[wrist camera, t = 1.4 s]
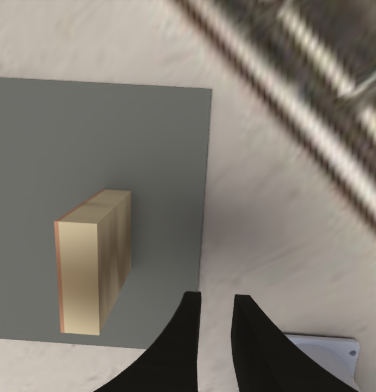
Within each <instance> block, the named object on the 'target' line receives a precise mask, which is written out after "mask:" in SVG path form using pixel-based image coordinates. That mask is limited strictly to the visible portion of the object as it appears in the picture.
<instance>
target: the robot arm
mask: <svg viewBox="0 0 376 392" xmlns="http://www.w3.org/2000/svg"><path fill="white" fill-rule="evenodd" d="M200 313H201V292H194V291H186V292H185V293H184V294H183V297H182V300H181V302H180V304H179V306H178V308H177V310H176V312H175V313H174V315H173V317H172V318H171V320H170V321H169V323H168V324H167V325H166V327H165V328H164V330H163V331H162V332H161V334H160V335H159V336H158V337H157V339H156V340H155V341H154V342H153V343H152V344H151V346H150V347H149V348H148V349H147V350H146V351H145V352H144V353H143V354H142V355H141V356H140V357H139V358H138V359H137V360H136V361H135V362H133V363H132V364H131V365H130V366H129V367H127V368H126V369H125V370H124V371H122V372H121V373H120V374H119V375H117V376H116V377H115V378H114V379H112V380H111V381H110V382H108V383H106V384H105V385H103V386H102V387H100V388H98V389H97V390H95V391H94V392H198V383H197V354H198V340H199V327H200ZM231 346H232V356H233V363H234V368H235V373H236V378H237V382H238V387H239V392H361V390H360V388H359V387H358V385H357V384H356V382H355V380H354V379H353V376H354V372H355V367H356V363H357V359H358V355H359V350H360V345H359V343H358V342H357V341H356V340H354V339H343V338H329V337H315V336H300V335H286V334H283V333H282V332H281V331H280V330H279V329H278V328H277V326H276V325H275V324H274V323H273V322H272V321H271V320H270V319H269V318H268V317H267V315H266V314H265V313H264V312H263V311H262V310H261V308H260V307H259V306H258V305H257V304H256V302H255V301H254V300H253V299H252V298H251V296H250V295H238V294H235V299H234V309H233V318H232V328H231ZM352 350H353V351H352ZM350 351H352V352H350Z"/></svg>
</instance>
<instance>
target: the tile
mask: <svg viewBox="0 0 376 392" xmlns="http://www.w3.org/2000/svg"><path fill="white" fill-rule="evenodd" d="M54 228H55V245H56V262H57V278H58V295H59V312H60V329H61V333H74V334H88V335H100V333H101V331H102V329H103V327H104V325H105V323H106V320H107V318H108V316H109V314H110V312H111V310H112V308H113V306H114V304H115V301H116V299H117V297H118V295H119V293H120V291H121V289H122V287H123V285H124V282H125V280H126V278H127V276H128V274H129V272H130V270H131V191H123V190H107V189H103V190H101V191H100V192H98V193H97V194H95V195H94V196H92V197H91V198H89V199H87V200H86V201H84V202H83V203H81V204H80V205H78V206H77V207H75V208H74V209H72V210H71V211H69V212H68V213H66V214H64V215H63V216H61V217H60V218H58V219H57V220H55V221H54Z"/></svg>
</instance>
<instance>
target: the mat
mask: <svg viewBox="0 0 376 392" xmlns="http://www.w3.org/2000/svg"><path fill="white" fill-rule="evenodd" d="M211 92H212V89H203V88H185V87H166V86H147V85H128V84H109V83H91V82H72V81H53V80H34V79H15V78H0V339H13V340H27V341H41V342H54V343H68V344H82V345H96V346H110V347H124V348H138V349H148V348H149V347H150V346H151V344H152V343H153V342H154V341H155V340H156V339H157V337H158V336H159V335H160V334H161V332H162V331H163V330H164V328H165V327H166V325H167V324H168V323H169V321H170V320H171V318H172V317H173V315H174V313H175V312H176V310H177V308H178V306H179V304H180V302H181V300H182V297H183V294H184V293H185V292H186V291H194V292H198V278H199V264H200V250H201V235H202V221H203V207H204V192H205V178H206V164H207V149H208V135H209V121H210V106H211ZM103 189H107V190H123V191H131V270H130V272H129V274H128V276H127V278H126V280H125V282H124V285H123V287H122V289H121V291H120V293H119V295H118V297H117V299H116V301H115V304H114V306H113V308H112V310H111V312H110V314H109V316H108V318H107V320H106V323H105V325H104V327H103V329H102V331H101V333H100V335H88V334H74V333H61V329H60V312H59V295H58V278H57V262H56V245H55V228H54V221H55V220H57V219H58V218H60V217H61V216H63V215H64V214H66V213H68V212H69V211H71V210H72V209H74V208H75V207H77V206H78V205H80V204H81V203H83V202H84V201H86V200H87V199H89V198H91V197H92V196H94V195H95V194H97V193H98V192H100V191H101V190H103Z"/></svg>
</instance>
